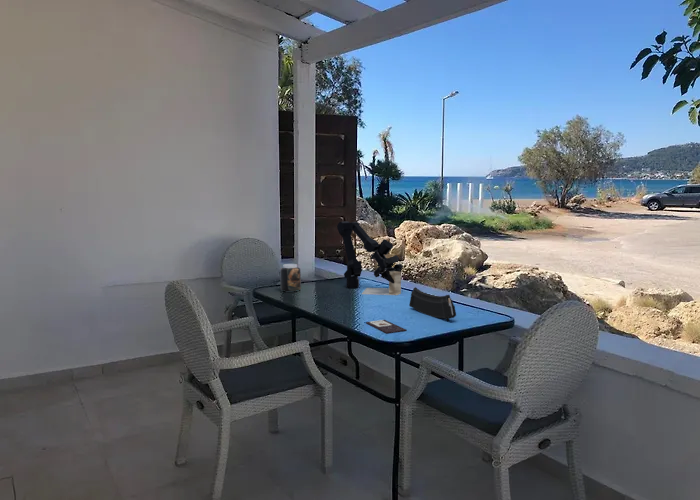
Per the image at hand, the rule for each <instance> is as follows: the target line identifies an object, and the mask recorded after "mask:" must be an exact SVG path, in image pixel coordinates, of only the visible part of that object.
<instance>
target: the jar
mask: <svg viewBox="0 0 700 500" xmlns="http://www.w3.org/2000/svg"><path fill="white" fill-rule="evenodd" d="M301 274H302V273H301V268H300V267H298V264H296V263H284V264H283V265H282V267H281V268H280V272H279V275H280V276H279V279H280V291H281V290H285V291H296V290H300V289H301V290H302V280H301V279H302V277H301Z"/></svg>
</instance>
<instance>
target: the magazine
mask: <svg viewBox="0 0 700 500" xmlns="http://www.w3.org/2000/svg"><path fill="white" fill-rule="evenodd" d="M409 298H410V299H409V305H408V306H409V307H410V308H412V309H413V310H416V311H418V312H419V313H422V314H424V315H427V316H429V317H433V318H437V319H444V320H446V321H447V322H449V321H450V319H454V318H455V317H457V312H456V306H455V304H454V302H453V300H452V298H451V296H450V294H446V295H442V296H441V295H433V294H430V293H427V292H424V291H422V290H420V289H418V288H417V287H414V288H413V289H412V292H411V293H410V297H409Z"/></svg>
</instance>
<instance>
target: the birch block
mask: <svg viewBox="0 0 700 500" xmlns="http://www.w3.org/2000/svg"><path fill="white" fill-rule="evenodd" d="M390 275H391V277H392V278H393V280H394V283H391V282H390V281H388V288H389V294H392V295H391V296H399V295H401V294H402V271H399V272H398V271H392V272H390ZM398 294H399V295H398Z"/></svg>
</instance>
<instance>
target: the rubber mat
mask: <svg viewBox="0 0 700 500" xmlns="http://www.w3.org/2000/svg"><path fill="white" fill-rule="evenodd" d="M361 295H377V296H378V295H379V296H393V295H392V294H389V287H388V288H387V287H366V288H365V289H364V290H363V291H362V293H361ZM399 295H400V294H398V295H397V296H399Z"/></svg>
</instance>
